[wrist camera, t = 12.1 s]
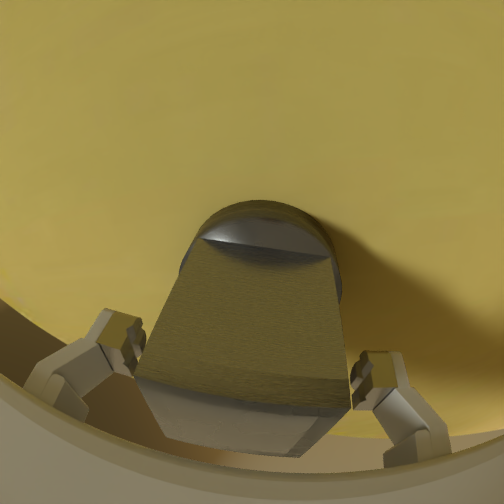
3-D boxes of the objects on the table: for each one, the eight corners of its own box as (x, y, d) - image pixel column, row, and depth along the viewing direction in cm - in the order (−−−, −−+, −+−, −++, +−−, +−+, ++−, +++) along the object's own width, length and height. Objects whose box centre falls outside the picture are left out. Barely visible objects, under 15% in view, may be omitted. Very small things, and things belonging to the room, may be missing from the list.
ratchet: (190, 190, 12) (135, 261, 7) (353, 214, 11) (386, 298, 7) (200, 379, 20) (184, 436, 16) (287, 392, 20) (283, 451, 16)
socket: (198, 237, 10) (132, 374, 6) (330, 257, 10) (350, 408, 5) (200, 324, 13) (166, 437, 8) (302, 339, 13) (299, 457, 8)
